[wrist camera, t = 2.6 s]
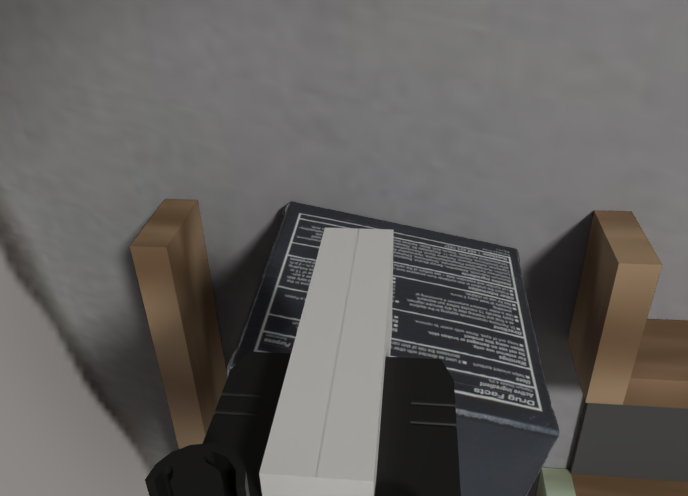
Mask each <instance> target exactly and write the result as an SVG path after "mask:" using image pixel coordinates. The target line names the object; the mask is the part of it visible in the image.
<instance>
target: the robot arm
mask: <svg viewBox="0 0 688 496" xmlns="http://www.w3.org/2000/svg"><path fill="white" fill-rule="evenodd" d="M393 233H394V230H391V229H356V228H325V229H324V233H323V237H322V240H321V244H320V248H319V252H318V255H317V259H316V263H315V267H314V270H313V274H312V278H311V282H310V285H309V289H308V293H307V297H306V300H305V304H304V308H303V311H302V315H301V319H300V323H299V326H298V330H297V334H296V338H295V341H294V345H293V349H292V353H291V354H290V353H270V352H250V351H249V352H248V353H247V354H246V355H245V356H244V357H243V358H242V359H241V360H240V361H239V362H238V363H237V364H236V365H235V366H234V367H233V368H232V369H231V370H230V372H229V375H228V378H227V380H226V383H225V386H224V388H223V391H222V396H220V399H219V401H218V404H217V407H216V409H215V415H213V417H212V420H211V422H210V425H209V428H208V430H207V433H206V436H205V438H204V441H203V444H194V445H189V446H186V447H184V448H181V449H178V450H176V451H173V452H171V453H170V454H169V455H167V456H166V457H165V458H163V459H162V460H161V461H159V462H158V463H157V464H156V465H155V466H154V468H153V469H152V470H151V472H150V473H149V475H148V476H147V478H146V479H145V481H146V485H147V488H148V492H149V495H150V496H461V488H460V471H459V455H458V438H457V428H456V424H457V422H456V408H455V389H454V379H453V378H452V376H451V374H450V373H449V371H448V370H447V368H446V366H445V365H444V363H443V362H442V360H441V359H425V358H405V357H390V351H391V336H392V296H393Z"/></svg>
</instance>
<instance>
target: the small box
mask: <svg viewBox="0 0 688 496" xmlns="http://www.w3.org/2000/svg"><path fill="white" fill-rule="evenodd" d="M281 216H282V220H281V223H280V226H279V229H278V232H277V234H276V237H275V240H274V243H273V245H272V248H271V250H270V253H269V256H268V258H267V260H266V263H265V267H264V269H263V272H262V276H261V279H260V281H259V283H258V287H257V289H256V292H255V295H254V298H253V300H252V303H251V306H250V309H249V312H248V315H247V318H246V320H245V323H244V326H243V329H242V331H241V334H240V337H239V340H238V343H237V345H236V348H235V350H234V352H233V354H232V356H231V358H230V360H229V362H228V365H227V374H226V380H227V378H228V375H229V372H230V370H231V369H232V368H233V367H234V366H235V365H236V364H237V363H238V362H239V361H240V360H241V359H242V358H243V357H244V356H245V355H246V354H247V353H248V352H249V351H250V352H270V353H290V354H291V353H292V349H293V345H294V341H295V338H296V334H297V330H298V326H299V323H300V319H301V315H302V311H303V308H304V304H305V300H306V297H307V293H308V289H309V285H310V282H311V278H312V274H313V270H314V267H315V263H316V259H317V255H318V252H319V248H320V244H321V240H322V237H323V233H324V229H325V228H356V229H391V230H394V233H393V296H392V336H391V351H390V357H405V358H425V359H441V360H442V362H443V363H444V365H445V366H446V368H447V370H448V371H449V373H450V374H451V376H452V378H453V379H454V389H455V408H456V422H457V424H456V428H457V438H458V455H459V471H460V488H461V496H527V494H528V492H529V490H530V489H531V486H532V484H533V483H534V481H535V479H536V478H537V475H538V474H539V472H540V470H541V468H542V467H543V465H544V463H545V461H546V459H547V457H548V455H549V454H550V452H551V450H552V448H553V446H554V445H555V443H556V440H557V438H558V437H559V427H558V424H557V419H556V416H555V413H554V411H553V409H552V407H551V401H550V396H549V392H548V390H547V387H546V382H545V378H544V373H543V368H542V365H541V362H540V361H541V358H540V354H539V348H538V344H537V340H536V336H535V332H534V328H533V323H532V318H531V314H530V309H529V305H528V301H527V298H526V291H525V286H524V283H523V279H522V273H521V268H520V264H519V262H520V259H519V253H518V251H517V250H516V249H514V248H509V247H504V246H500V245H496V244H491V243H487V242H482V241H477V240H473V239H467V238H463V237H458V236H453V235H449V234H444V233H439V232H434V231H430V230H425V229H421V228H415V227H411V226H406V225H401V224H396V223H392V222H387V221H382V220H377V219H373V218H367V217H363V216H358V215H354V214H349V213H344V212H340V211H335V210H330V209H324V208H320V207H315V206H310V205H305V204H300V203H296V202H290V203H289V204H287V205H286V206H285V207H284V208H283V209H282V215H281Z"/></svg>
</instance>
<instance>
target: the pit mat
mask: <svg viewBox="0 0 688 496" xmlns="http://www.w3.org/2000/svg"><path fill="white" fill-rule="evenodd" d="M570 472H571V474H579V475H593V476H607V477H622V478H636V479H650V480H665V481H679V482H688V409H686V408H669V407H652V406H635V405H617V404H600V403H586V404H585V408H584V413H583V417H582V421H581V425H580V429H579V433H578V437H577V442H576V446H575V450H574V454H573V458H572V462H571V467H570Z"/></svg>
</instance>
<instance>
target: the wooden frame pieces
mask: <svg viewBox="0 0 688 496" xmlns="http://www.w3.org/2000/svg"><path fill="white" fill-rule="evenodd" d="M130 249H131V253H132V258H133V262H134V266H135V270H136V274H137V278H138V282H139V286H140V291H141V295H142V299H143V303H144V307H145V311H146V315H147V319H148V324H149V328H150V332H151V336H152V340H153V344H154V348H155V352H156V357H157V361H158V365H159V369H160V373H161V377H162V381H163V385H164V390H165V394H166V398H167V402H168V406H169V410H170V414H171V418H172V423H173V427H174V431H175V435H176V439H177V443H178V447H179V449H181V448H184V447H186V446H189V445H194V444H203V441H204V438H205V436H206V433H207V430H208V428H209V425H210V422H211V420H212V417H213V415H215V409H216V407H217V404H218V401H219V399H220V396H222V391H223V388H224V386H225V383H226V374H227V372H226V366H225V360H224V354H223V348H222V342H221V336H220V330H219V324H218V318H217V313H216V307H215V301H214V295H213V289H212V283H211V277H210V271H209V265H208V259H207V253H206V247H205V241H204V235H203V229H202V223H201V217H200V212H199V206H198V200H176V199H165V200H164V201H163V203H162V204H161V205H160V207H159V208H158V209H157V211H156V212H155V213H154V215H153V216H152V217H151V219H150V220H149V221H148V223H147V224H146V225H145V227H144V228H143V229H142V231H141V232H140V233H139V235H138V236H137V237H136V239H135V240H134V241H133V243H132V244H131V245H130ZM661 268H662V264H661V262H660V260H659V258H658V257H657V255H656V253H655V251H654V250H653V248H652V246H651V244H650V243H649V241H648V239H647V237H646V236H645V234H644V232H643V230H642V229H641V227H640V225H639V223H638V222H637V220H636V218H635V216H634V215H633V213H632V212H626V211H594V214H593V219H592V224H591V229H590V234H589V238H588V243H587V248H586V253H585V258H584V263H583V268H582V273H581V277H580V282H579V287H578V292H577V297H576V302H575V307H574V312H573V317H572V321H571V326H570V331H569V336H568V344H569V348H570V351H571V354H572V358H573V361H574V365H575V368H576V372H577V375H578V379H579V382H580V386H581V389H582V392H583V396H584V399H585V403H600V404H617V405H635V406H652V407H669V408H686V409H688V321H683V320H660V319H647V317H648V314H649V310H650V306H651V303H652V299H653V296H654V292H655V289H656V285H657V282H658V278H659V275H660V271H661ZM536 496H688V482H679V481H665V480H650V479H636V478H622V477H607V476H593V475H579V474H571V472H570V469H557V468H541V473H540V478H539V483H538V487H537V492H536Z"/></svg>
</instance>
